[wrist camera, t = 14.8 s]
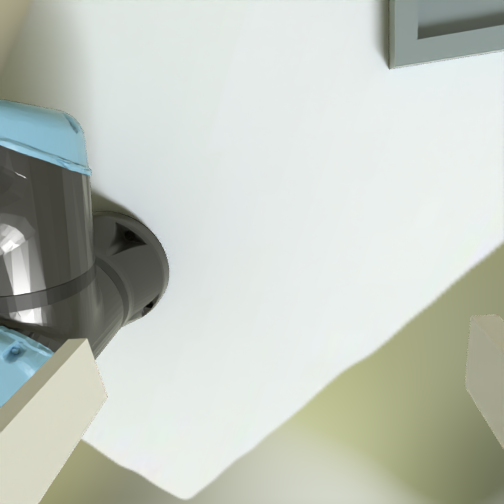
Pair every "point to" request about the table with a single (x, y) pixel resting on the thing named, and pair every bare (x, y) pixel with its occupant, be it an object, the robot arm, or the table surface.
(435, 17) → the gray square tray
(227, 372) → the table surface
